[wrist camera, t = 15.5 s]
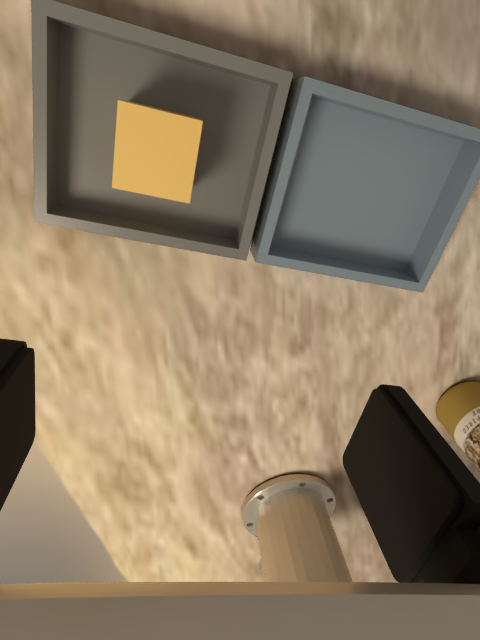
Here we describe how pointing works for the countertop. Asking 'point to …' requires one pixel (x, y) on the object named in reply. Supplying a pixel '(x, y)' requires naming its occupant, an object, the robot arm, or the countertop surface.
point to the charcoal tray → (160, 92)
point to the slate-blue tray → (364, 187)
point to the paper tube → (462, 417)
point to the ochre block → (155, 151)
